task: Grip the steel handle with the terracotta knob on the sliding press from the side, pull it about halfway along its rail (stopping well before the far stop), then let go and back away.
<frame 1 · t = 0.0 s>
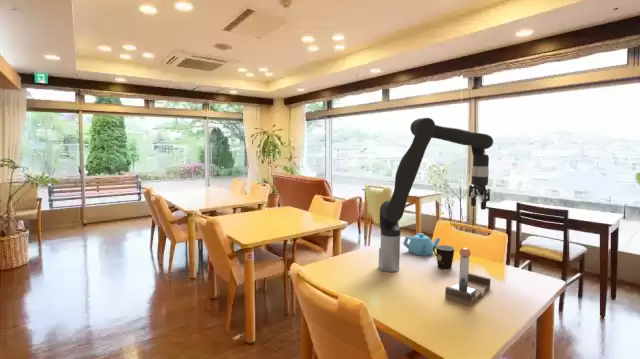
hand: (478, 207, 176), 29 cm above the table, tool pointing down, fingers open, 8 cm apart
teapot: (421, 252, 198), on the table
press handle: (464, 270, 140), point 11 cm above the table, slide at 0.0 cm
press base: (468, 293, 145), on the table
coffee mug: (443, 266, 177), on the table
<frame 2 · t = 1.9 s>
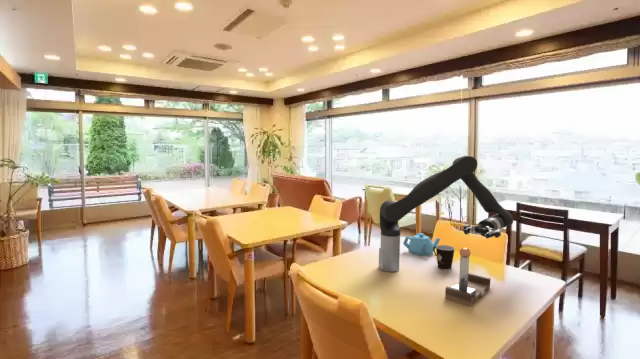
hand: (475, 234, 146), 24 cm above the table, tool horizontal, fingers open, 8 cm apart
nothing on the table moved.
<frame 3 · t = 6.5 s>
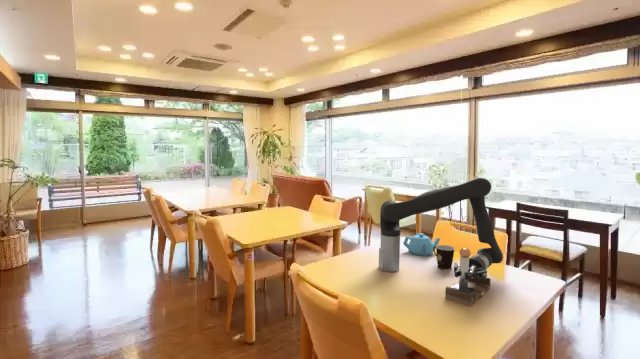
hand: (461, 276, 138), 10 cm above the table, tool horizontal, fingers closed on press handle, 3 cm apart
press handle: (464, 270, 140), point 11 cm above the table, slide at 0.0 cm, touching gripper
everything else where it was.
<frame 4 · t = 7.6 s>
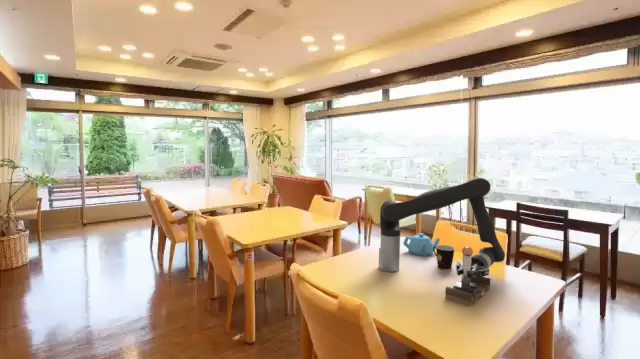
hand: (463, 274, 140), 10 cm above the table, tool horizontal, fingers closed on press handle, 3 cm apart
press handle: (466, 269, 141), point 11 cm above the table, slide at 2.4 cm, touching gripper
everything else where it was.
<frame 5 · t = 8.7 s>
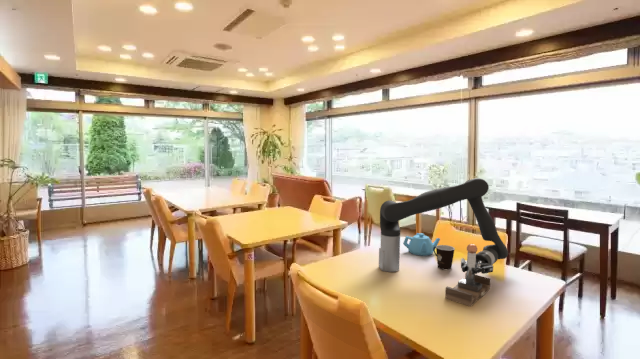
hand: (468, 270, 143), 10 cm above the table, tool horizontal, fingers closed on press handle, 3 cm apart
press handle: (471, 265, 145), point 11 cm above the table, slide at 7.4 cm, touching gripper
everything else where it was.
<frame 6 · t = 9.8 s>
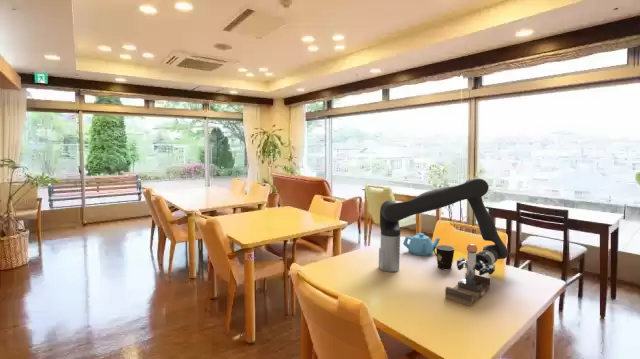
hand: (469, 270, 144), 10 cm above the table, tool horizontal, fingers open, 8 cm apart
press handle: (471, 265, 145), point 11 cm above the table, slide at 7.5 cm
everything else where it was.
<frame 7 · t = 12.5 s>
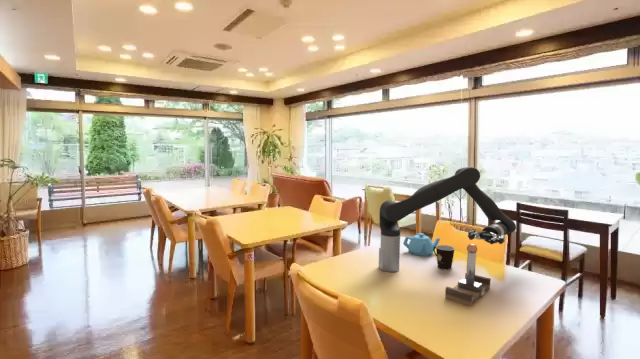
hand: (480, 239, 151), 20 cm above the table, tool horizontal, fingers open, 8 cm apart
nothing on the table moved.
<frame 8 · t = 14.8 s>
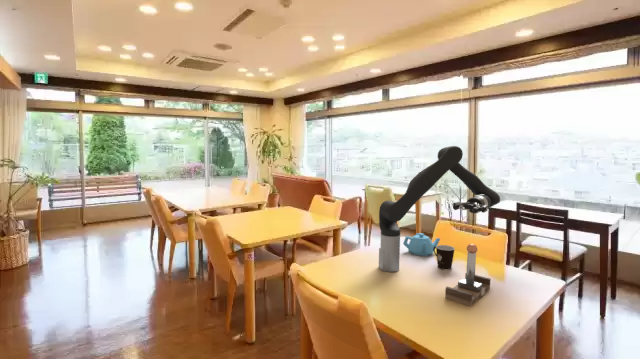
hand: (464, 209, 158), 32 cm above the table, tool horizontal, fingers open, 8 cm apart
nothing on the table moved.
at the end: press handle slide at 7.5 cm; the gripper is holding nothing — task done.
